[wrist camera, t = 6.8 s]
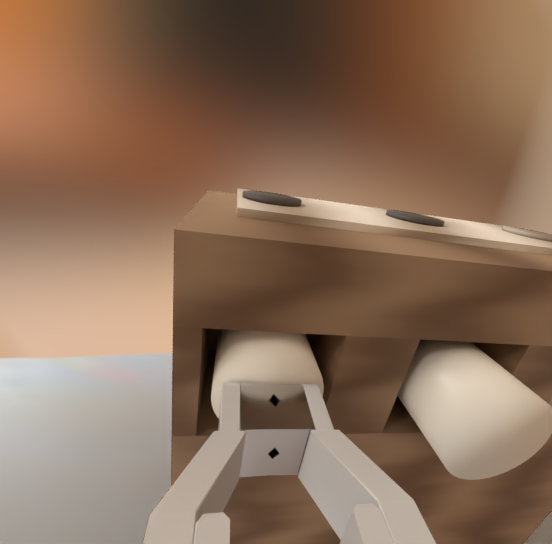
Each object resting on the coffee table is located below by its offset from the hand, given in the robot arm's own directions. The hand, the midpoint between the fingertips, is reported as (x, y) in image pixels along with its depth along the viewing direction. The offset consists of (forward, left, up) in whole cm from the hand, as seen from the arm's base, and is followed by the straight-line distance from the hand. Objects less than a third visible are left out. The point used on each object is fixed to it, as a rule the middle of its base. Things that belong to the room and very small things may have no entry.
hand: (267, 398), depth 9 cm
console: (+7, +4, -15) cm, 17 cm away
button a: (0, +2, -2) cm, 3 cm away
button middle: (+7, 0, -2) cm, 7 cm away
